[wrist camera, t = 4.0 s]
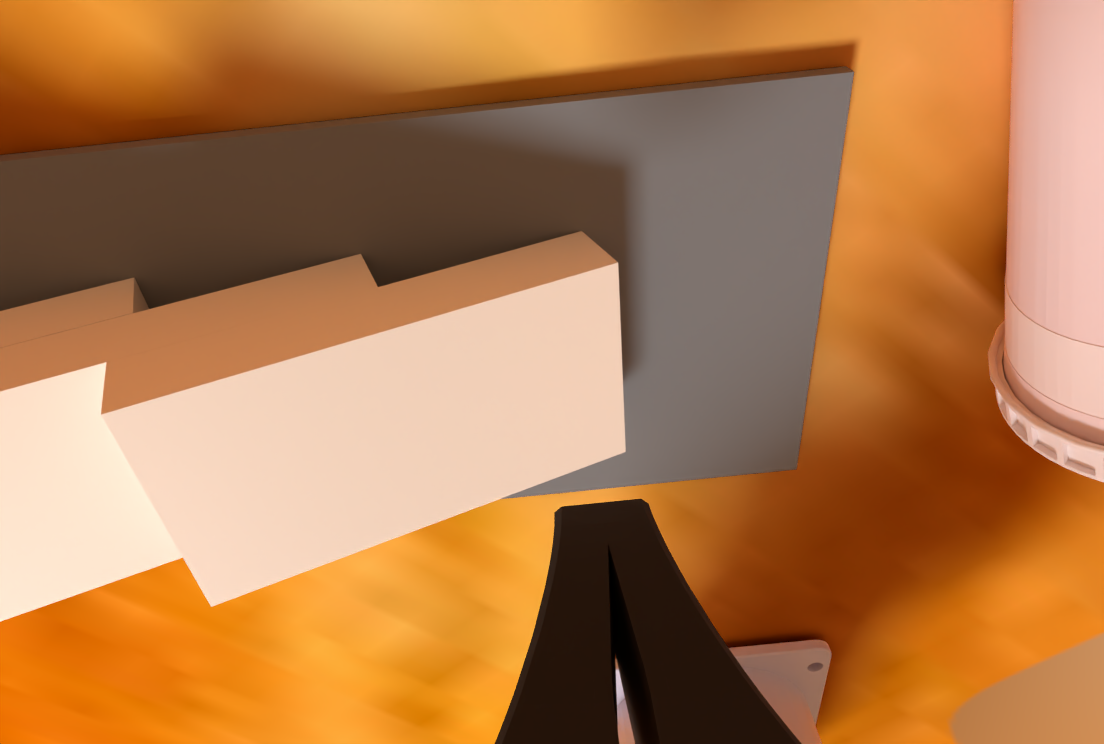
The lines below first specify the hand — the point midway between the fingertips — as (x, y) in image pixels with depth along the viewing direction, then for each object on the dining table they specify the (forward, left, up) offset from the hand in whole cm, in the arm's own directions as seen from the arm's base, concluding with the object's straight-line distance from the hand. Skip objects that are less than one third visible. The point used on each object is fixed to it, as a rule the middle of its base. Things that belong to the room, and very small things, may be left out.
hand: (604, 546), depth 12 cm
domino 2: (0, -1, -6) cm, 6 cm away
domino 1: (0, +4, -5) cm, 7 cm away
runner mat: (0, +7, -7) cm, 10 cm away
